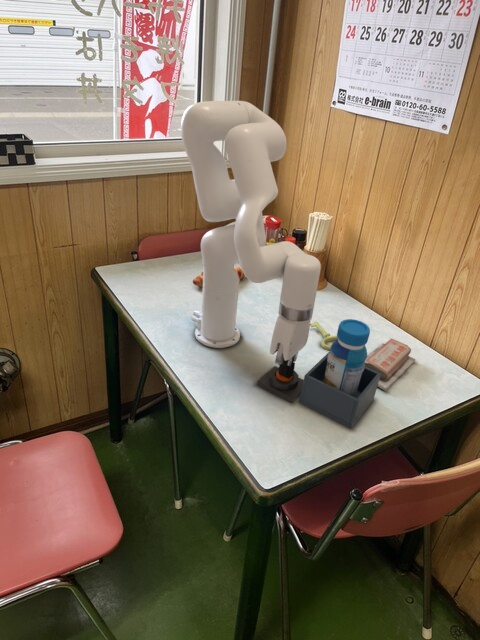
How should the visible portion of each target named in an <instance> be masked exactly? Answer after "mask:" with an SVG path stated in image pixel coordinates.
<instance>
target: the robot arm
mask: <svg viewBox="0 0 480 640" xmlns="http://www.w3.org/2000/svg"><path fill="white" fill-rule="evenodd" d="M180 136H181V137H180V138H181V142H182V145H183V148H184V151H185V153H186V156H187V159H188V161H189V165H190V167H191V171H192V177H193V183H194V188H195V193H196V199H197V203H198V208H199V212H200V215H201V217H202V218H203V219H204V220H205V221H207V222H208V223H220V222H225V221H230V220H234V219H235V222H234V224H229V225H224V226H219V227H216V228H213V229H211V230H209V231H207V232H205V234H204V235H203V236H202V238H201V240H200V255H201V261H202V272H203V287H202V293H201V295H202V297H201V298H202V299H201V311H200V310H197V309H196V310H194V311H193V315H192V316H191V321H192V322H195V323H197V326H196V327H195V330H194V336H195V338H196V340H197V341H198V343H200V344H201V345H204V346H206V347H210V348H214V349H215V348H216V349H223V348H229V347H232V346H234V345H236V344H237V343H239V341H240V338H241V331H240V329H239V328H238V327H237V325H236V324H237V313H238V303H239V292H240V280H239V276H238V274H237V272H236V271H235V269H234V267H235V265H236V264H238V263H239V265H240V266H239V267H240V268H242V271H243V273H244V274H245V277H246V278H247V280H249V281H250V282H252V283H255V284H263V283H266V282H270V281H272V280H276V279H278V278H279V279H280V278H282V284H281V291H280V299H279V306H278V311H277V312H278V313H277V314H278V316H277V319H276V320H275V321H276V322H275V325H274V328H273V332H272V336H271V341H270V348H269V354H270V355H275V354H276V356H275V359H274V364H275V365H278V367H279V372H278V373H279V374H280V375H282V376H284V377H286V378H288V379H290V378H291V377H292V376H293V372H294V371H295V366H296V363H295V362H297V359H298V355H299V352H300V351H301V350H302V349H304V348H305V346H306V345H307V343H308V340H309V335H310V328H311V325H310V324H311V320H312V319H313V314H314V309H315V304H316V297H317V292H318V288H319V287H318V286H319V282H320V275H321V269H322V264H321V262H320V260H319V259H318V258H317V257H315V256H314V255H311V254H308V253H306V252H305V251H304V250H302V249H301V248H300V247H299V246H298V245H297V244H295V243H293V242H291V241H288V240H283V241H279V242H275V243H270V244H267V235H266V234H267V233H266V227H265V223H264V216H263V211H264V209H265V208H266V207H267V206H268V205H269V204H271V203H272V202H273V201H274V200H275V199H276V198H277V197H278V195H279V188H278V185H277V181H276V178H275V175H274V172H273V167H272V164H271V163H274V162H276V161H280V160H281V159H282V158H283V157H284V156H285V154H286V153H287V147H288V146H287V145H288V143H287V136H286V133H285V131H284V130H283V128H282V127H281V125H280V124H279V123H278V122H277V121H276V120H274V119H273V118H271V116H269V115H268V114H267V113H265V112H264V111H262V110H260V109H259V108H258V107H257V106H255V105H254V104H253V103H250V102H248V101H245V100H205V101H199V102H196V103H193V104H191V105H190V106H187V108H186V109H185V110H184V112H183V115H182V117H181V121H180ZM223 141H224V146H225V151H226V155H227V158H228V161H229V165H230V168H231V172H232V175H233V179H231V178H230V174H229V171H228V164H227V161H226V159H225V157H224V155H223V153H222V152H221V150H220V149H219V148H218V147H217V146H216V145H215V142H223Z"/></svg>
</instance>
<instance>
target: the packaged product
mask: <svg viewBox="0 0 480 640" xmlns="http://www.w3.org/2000/svg"><path fill="white" fill-rule="evenodd" d="M411 352H412V348H410V346H409V345H408V344H405V343H404V342H401V341H399V340H397V339H395V338H390V339H389V340H387V341H386V342H385V343H381V344H380V345H379V346H378V347H377V348H375V349H374V350H373V351H372V352H370V353H369V354H367V358H366V360H365V367H367V368H370V369H372V370H374V371H376V372H378V373H381V376H380V379H379V383H378V386H377V388H380V389H381V390H383V391H385V392H386V391H387V390H388V389H389V388H390V387H391V386H392V385H393V383H394V382H395V381H397V379H398V378H400V377H401V376H402V375H404V374H405V372H406V370H407V369H409V367H411V366H412V365H413V363H414V362H416V358H414V357H412V356H410V354H411Z"/></svg>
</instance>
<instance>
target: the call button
mask: <svg viewBox="0 0 480 640" xmlns="http://www.w3.org/2000/svg"><path fill="white" fill-rule="evenodd" d="M278 372H279V371H277V373H276V378H277V379H278V380H280V381H284V382H288V381H292V378H293V376H292V377H291V378H290V379H288V378H286V377H284V376H282V375H280V374H279V373H278Z"/></svg>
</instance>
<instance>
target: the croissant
mask: <svg viewBox="0 0 480 640" xmlns="http://www.w3.org/2000/svg"><path fill="white" fill-rule="evenodd" d="M234 269H235V271H236V272H237V274H238V276H239V281H240V280H241V279H244V278H245V277H246V276H245V274H244V273H243V271H242V268H241V266H238V267H236V266H234ZM192 284H193V285H194V286H197V287H202V288H203V271H202V272H201V273H200V274H199V275H198V276H196V277H195V278H194V279H193V280H192Z"/></svg>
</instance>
